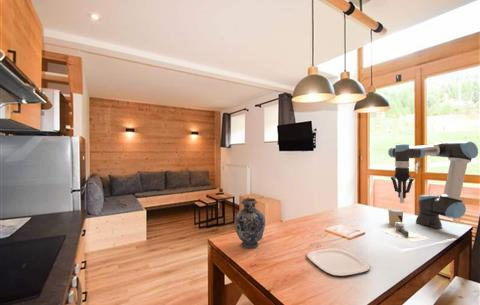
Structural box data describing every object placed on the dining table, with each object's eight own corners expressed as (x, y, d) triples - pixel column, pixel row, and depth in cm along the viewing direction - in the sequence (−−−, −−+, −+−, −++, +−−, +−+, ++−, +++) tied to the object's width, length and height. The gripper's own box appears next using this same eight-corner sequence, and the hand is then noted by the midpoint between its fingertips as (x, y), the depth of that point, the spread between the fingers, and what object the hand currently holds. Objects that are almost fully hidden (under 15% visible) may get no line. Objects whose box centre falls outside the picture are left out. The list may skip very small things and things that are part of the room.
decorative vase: (268, 252, 127) (267, 203, 126) (236, 254, 125) (234, 204, 125) (262, 237, 148) (261, 195, 148) (234, 239, 147) (233, 196, 146)
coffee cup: (401, 229, 162) (401, 212, 162) (386, 225, 169) (386, 210, 169) (404, 226, 168) (404, 210, 168) (390, 223, 175) (390, 207, 175)
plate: (377, 272, 107) (377, 268, 107) (332, 281, 99) (332, 277, 99) (339, 249, 131) (339, 246, 131) (301, 255, 124) (301, 252, 124)
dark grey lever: (394, 229, 157) (394, 221, 157) (402, 229, 156) (402, 222, 156) (402, 236, 145) (402, 227, 145) (411, 236, 143) (411, 228, 143)
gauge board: (396, 229, 162) (396, 226, 162) (431, 240, 141) (431, 238, 141) (377, 232, 156) (377, 230, 156) (411, 245, 135) (411, 242, 135)
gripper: (388, 167, 152) (388, 201, 152) (411, 168, 141) (411, 205, 141) (393, 166, 156) (393, 200, 156) (416, 167, 145) (416, 203, 146)
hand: (402, 202), depth 149 cm, fingers closed
